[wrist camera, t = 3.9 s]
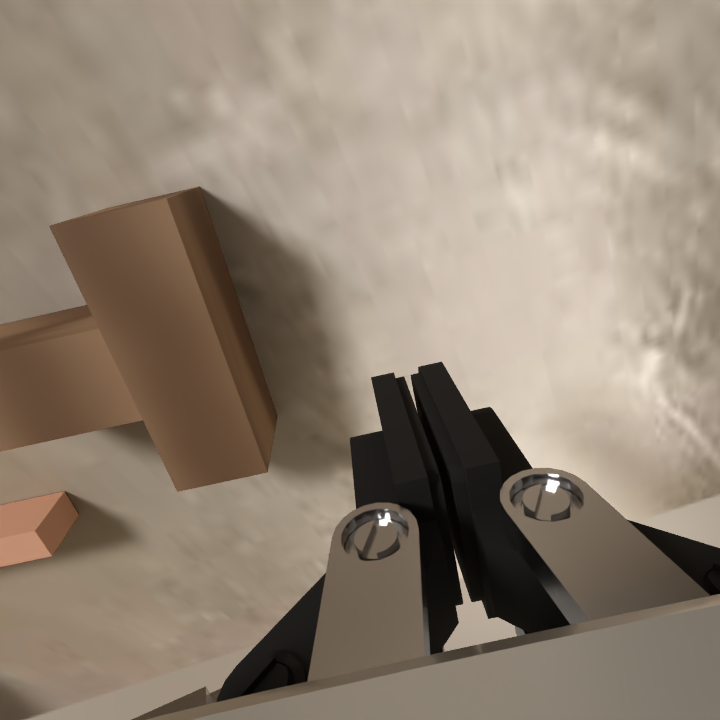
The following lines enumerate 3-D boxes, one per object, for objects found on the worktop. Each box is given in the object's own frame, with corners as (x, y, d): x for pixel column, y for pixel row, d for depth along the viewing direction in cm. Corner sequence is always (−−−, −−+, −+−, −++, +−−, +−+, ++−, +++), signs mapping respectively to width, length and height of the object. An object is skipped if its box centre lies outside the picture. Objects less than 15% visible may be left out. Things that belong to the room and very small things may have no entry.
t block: (199, 186, 17) (166, 198, 14) (277, 416, 21) (267, 472, 18) (-50, 244, 17) (-148, 271, 14) (75, 460, 22) (25, 524, 18)
